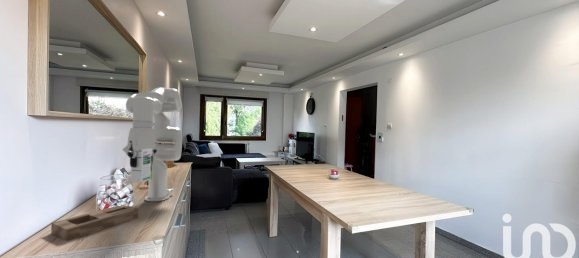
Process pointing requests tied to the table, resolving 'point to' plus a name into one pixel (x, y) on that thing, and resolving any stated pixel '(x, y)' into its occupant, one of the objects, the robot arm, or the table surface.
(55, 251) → the table surface
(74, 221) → the socket block
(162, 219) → the table surface
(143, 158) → the syrup box
